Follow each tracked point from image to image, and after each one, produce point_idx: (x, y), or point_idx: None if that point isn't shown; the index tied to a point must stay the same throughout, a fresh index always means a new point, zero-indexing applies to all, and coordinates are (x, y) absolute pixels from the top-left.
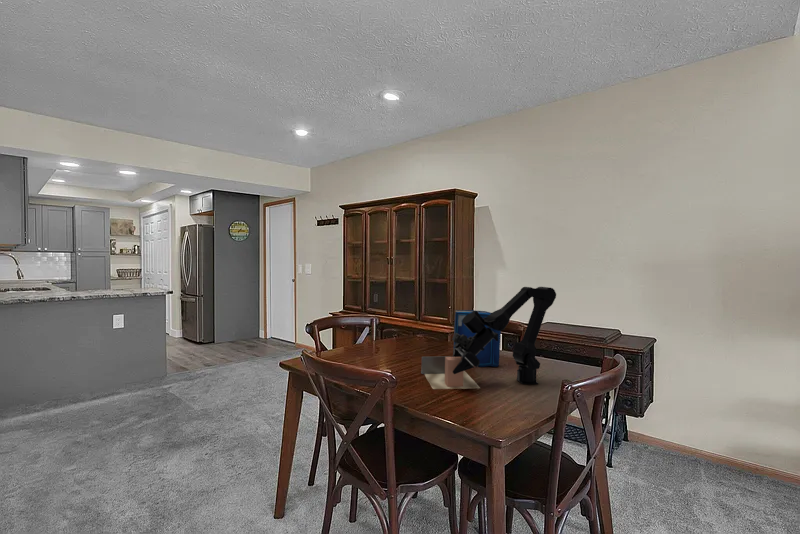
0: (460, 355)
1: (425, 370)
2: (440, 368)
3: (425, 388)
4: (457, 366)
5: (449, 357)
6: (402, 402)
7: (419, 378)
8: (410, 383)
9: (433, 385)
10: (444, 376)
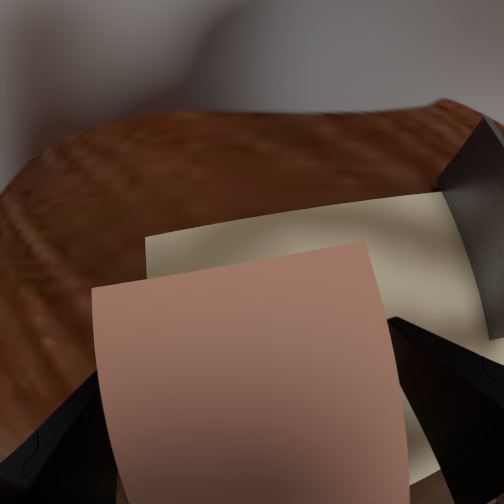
0: (495, 484)
1: (453, 187)
2: (495, 271)
3: (210, 203)
4: (47, 420)
5: (328, 335)
6: (53, 147)
7: (392, 174)
8: (292, 134)
9: (216, 240)
10: (435, 310)
